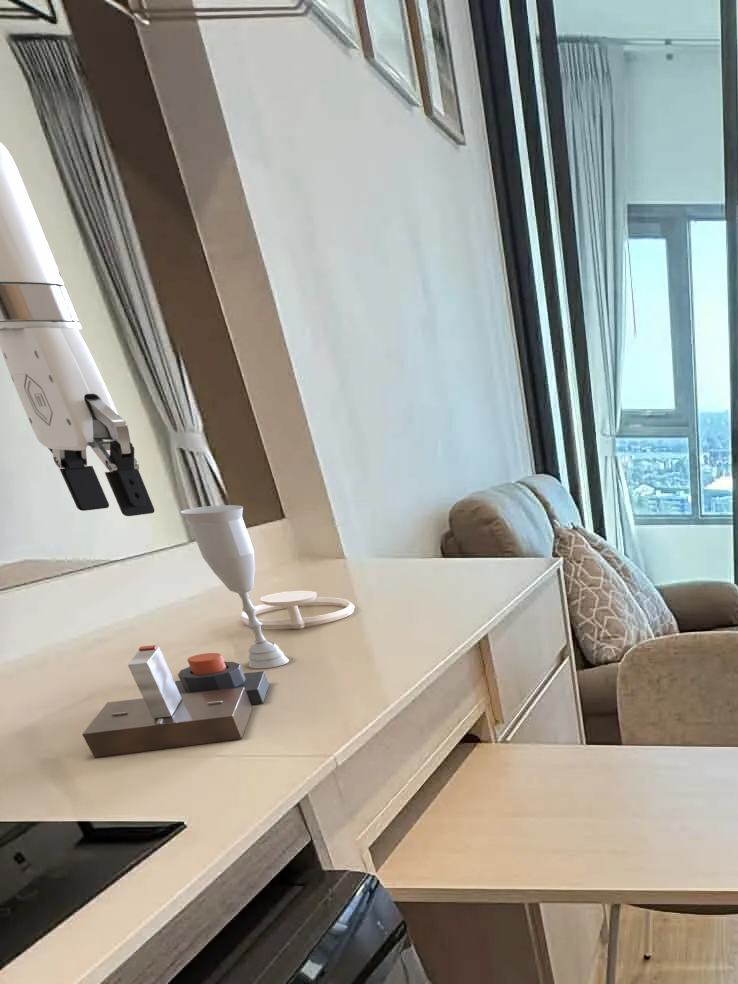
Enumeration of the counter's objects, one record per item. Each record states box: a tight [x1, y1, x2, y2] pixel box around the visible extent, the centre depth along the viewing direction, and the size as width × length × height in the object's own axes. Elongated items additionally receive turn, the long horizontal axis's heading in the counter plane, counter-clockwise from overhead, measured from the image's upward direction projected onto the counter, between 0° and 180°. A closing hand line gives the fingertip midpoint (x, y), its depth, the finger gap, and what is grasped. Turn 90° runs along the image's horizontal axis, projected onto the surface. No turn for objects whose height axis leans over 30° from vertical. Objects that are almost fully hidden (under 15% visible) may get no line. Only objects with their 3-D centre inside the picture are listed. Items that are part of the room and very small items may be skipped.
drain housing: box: [174, 661, 270, 706], centre depth 101 cm, size 10×8×4 cm
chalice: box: [180, 504, 290, 669], centre depth 109 cm, size 7×7×18 cm
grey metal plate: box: [127, 644, 182, 718], centre depth 90 cm, size 6×2×6 cm, turn 20°
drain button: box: [186, 652, 227, 675], centre depth 100 cm, size 4×4×2 cm
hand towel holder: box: [239, 590, 355, 630], centre depth 133 cm, size 17×4×21 cm
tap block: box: [81, 687, 253, 758], centre depth 93 cm, size 14×11×3 cm
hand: (116, 511), depth 94 cm, fingers open, 9 cm apart
